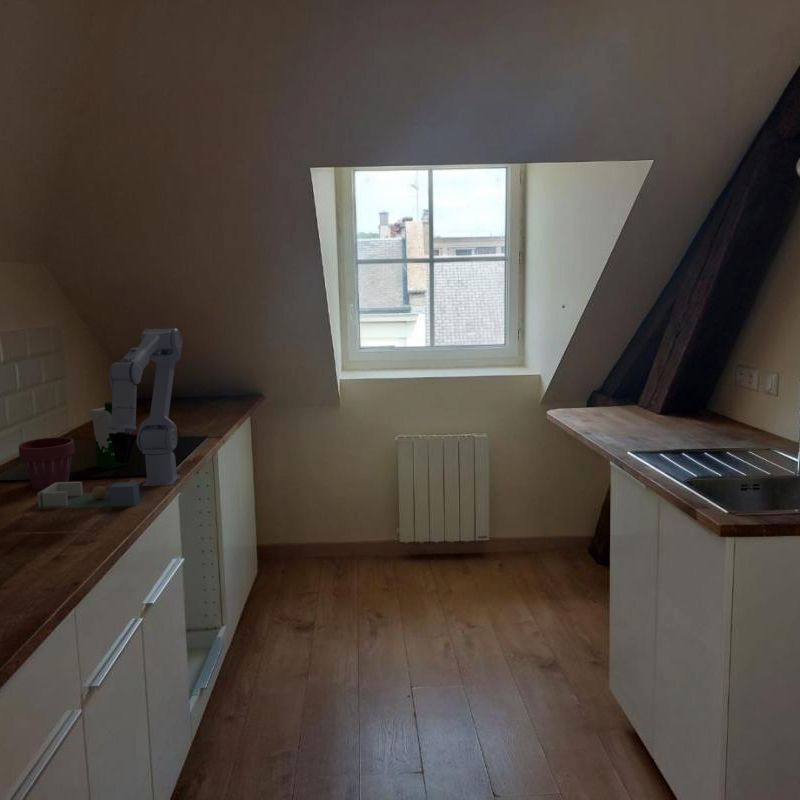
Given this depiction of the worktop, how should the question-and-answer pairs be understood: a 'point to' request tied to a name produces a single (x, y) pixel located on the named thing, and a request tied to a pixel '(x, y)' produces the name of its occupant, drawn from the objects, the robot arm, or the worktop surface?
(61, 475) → the plant pot
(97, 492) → the ball
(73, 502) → the pitch mat
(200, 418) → the worktop surface
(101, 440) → the milk carton
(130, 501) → the block
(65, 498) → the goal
